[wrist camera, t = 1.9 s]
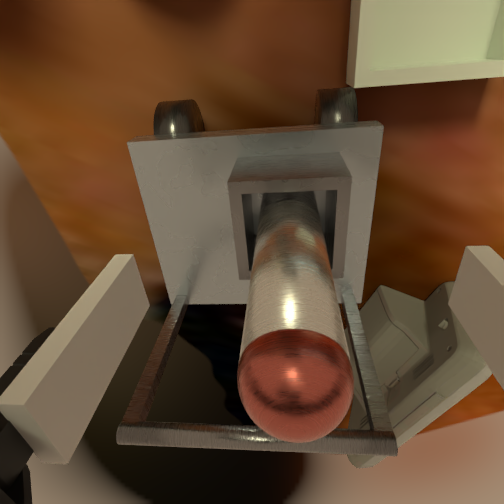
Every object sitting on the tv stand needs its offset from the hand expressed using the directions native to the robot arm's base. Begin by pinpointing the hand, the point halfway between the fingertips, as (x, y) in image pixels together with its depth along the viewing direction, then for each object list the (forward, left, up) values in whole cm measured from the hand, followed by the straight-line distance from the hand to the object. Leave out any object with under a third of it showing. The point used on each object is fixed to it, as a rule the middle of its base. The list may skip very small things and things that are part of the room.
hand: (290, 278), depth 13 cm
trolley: (+2, -2, -14) cm, 14 cm away
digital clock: (+17, +10, -14) cm, 25 cm away
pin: (0, 0, -8) cm, 8 cm away
